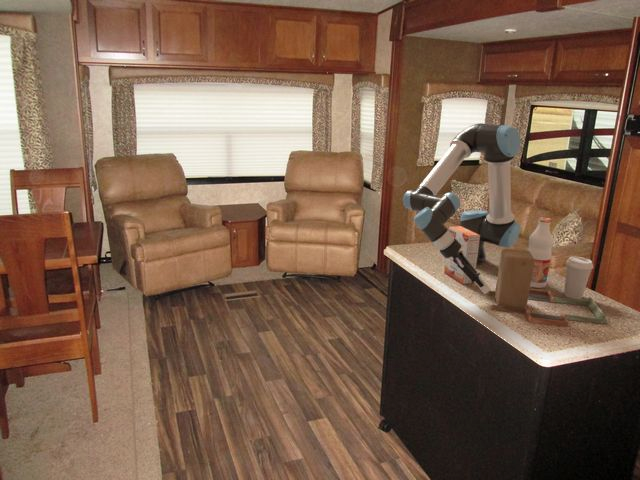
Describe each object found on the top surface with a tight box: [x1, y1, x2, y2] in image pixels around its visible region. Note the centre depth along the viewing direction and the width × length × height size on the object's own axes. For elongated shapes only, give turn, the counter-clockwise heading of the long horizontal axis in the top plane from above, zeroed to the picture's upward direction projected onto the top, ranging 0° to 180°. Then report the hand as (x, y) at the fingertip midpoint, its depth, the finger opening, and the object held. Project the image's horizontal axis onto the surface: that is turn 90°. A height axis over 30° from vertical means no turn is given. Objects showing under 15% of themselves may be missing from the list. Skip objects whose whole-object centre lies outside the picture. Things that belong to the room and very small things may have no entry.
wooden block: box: [494, 248, 535, 309], centre depth 181 cm, size 10×10×20 cm
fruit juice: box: [526, 216, 554, 289], centre depth 200 cm, size 9×9×28 cm
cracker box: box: [444, 225, 480, 285], centre depth 204 cm, size 14×6×21 cm, turn 18°
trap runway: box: [487, 288, 607, 328], centre depth 181 cm, size 29×37×3 cm
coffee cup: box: [563, 256, 594, 300], centre depth 191 cm, size 10×10×15 cm
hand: (487, 291), depth 184 cm, fingers closed
